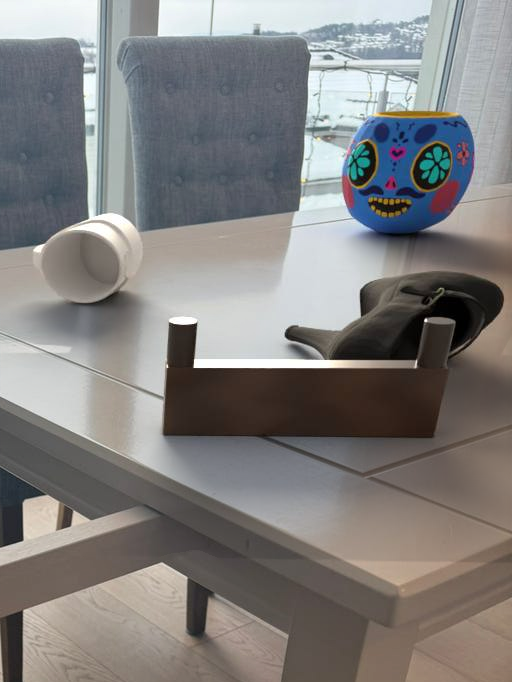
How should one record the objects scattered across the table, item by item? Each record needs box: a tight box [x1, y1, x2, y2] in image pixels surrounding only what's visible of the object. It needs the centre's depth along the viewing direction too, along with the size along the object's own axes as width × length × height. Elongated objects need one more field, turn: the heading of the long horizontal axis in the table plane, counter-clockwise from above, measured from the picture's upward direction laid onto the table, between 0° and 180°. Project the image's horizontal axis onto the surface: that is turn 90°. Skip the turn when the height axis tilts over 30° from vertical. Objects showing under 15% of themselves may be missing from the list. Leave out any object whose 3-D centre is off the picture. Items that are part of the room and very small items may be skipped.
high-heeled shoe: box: [283, 270, 505, 361], centre depth 79 cm, size 8×19×20 cm
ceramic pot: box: [341, 110, 476, 235], centre depth 131 cm, size 18×18×15 cm
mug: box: [32, 213, 144, 304], centre depth 104 cm, size 12×9×8 cm
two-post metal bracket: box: [161, 316, 456, 438], centre depth 67 cm, size 20×2×8 cm, turn 86°
